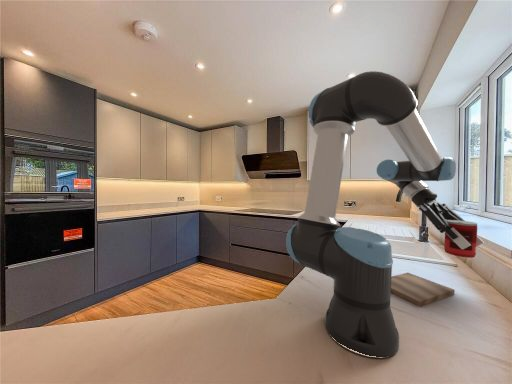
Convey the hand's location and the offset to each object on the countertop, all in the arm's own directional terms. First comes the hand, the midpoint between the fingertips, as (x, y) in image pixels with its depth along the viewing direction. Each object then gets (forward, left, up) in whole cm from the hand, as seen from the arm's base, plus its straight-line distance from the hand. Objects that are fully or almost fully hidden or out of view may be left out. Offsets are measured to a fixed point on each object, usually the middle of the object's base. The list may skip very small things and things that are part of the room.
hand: (473, 246), depth 68 cm
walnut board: (-16, +8, -15) cm, 24 cm away
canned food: (0, +3, -4) cm, 5 cm away
